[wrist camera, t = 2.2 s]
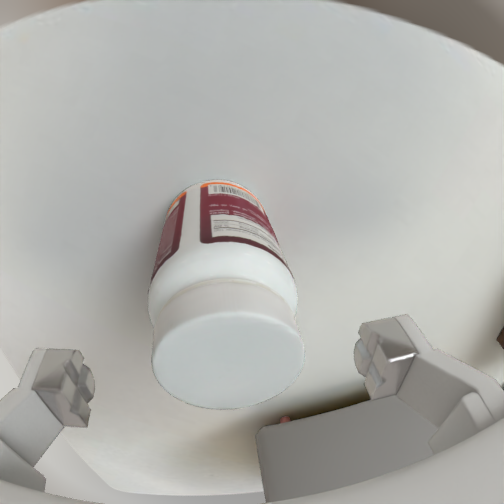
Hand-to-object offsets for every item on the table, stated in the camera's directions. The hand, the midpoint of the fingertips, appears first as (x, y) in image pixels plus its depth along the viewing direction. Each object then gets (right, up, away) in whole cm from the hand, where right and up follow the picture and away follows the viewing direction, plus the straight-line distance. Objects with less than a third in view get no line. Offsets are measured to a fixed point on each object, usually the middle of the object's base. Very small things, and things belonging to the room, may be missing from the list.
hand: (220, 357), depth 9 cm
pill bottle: (-1, +4, +7) cm, 8 cm away
